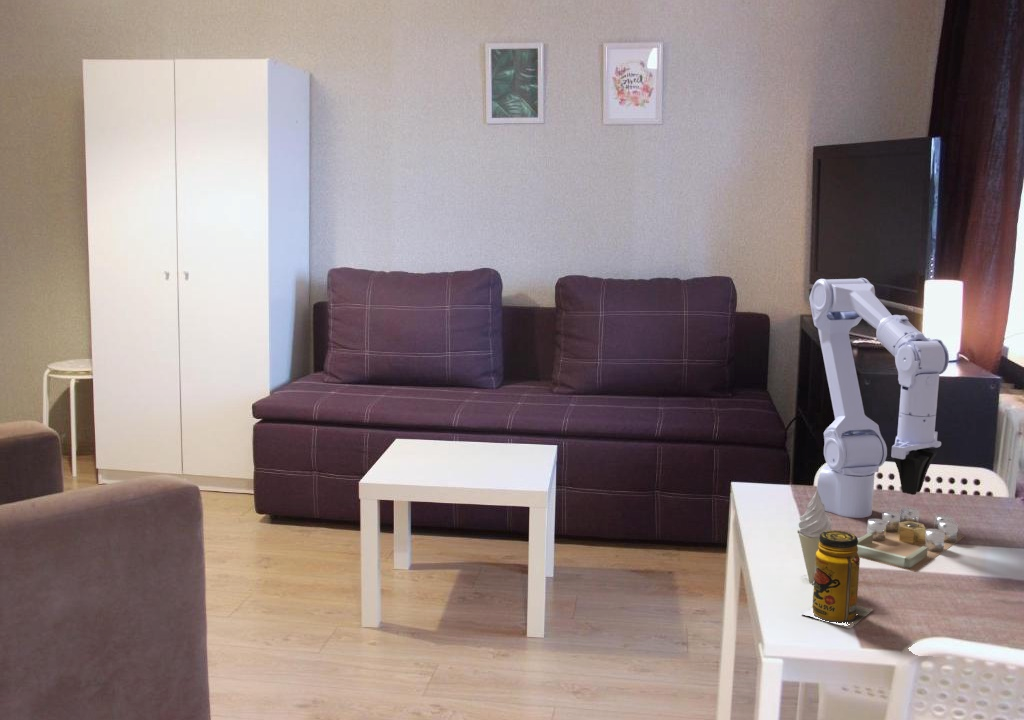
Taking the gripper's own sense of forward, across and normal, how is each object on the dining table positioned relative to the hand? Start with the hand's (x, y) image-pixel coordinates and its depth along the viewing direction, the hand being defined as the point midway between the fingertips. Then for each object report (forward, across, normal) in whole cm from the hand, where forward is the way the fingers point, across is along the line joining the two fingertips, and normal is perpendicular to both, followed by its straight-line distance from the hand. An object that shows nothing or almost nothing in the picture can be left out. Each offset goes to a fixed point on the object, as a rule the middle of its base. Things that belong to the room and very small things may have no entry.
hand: (911, 492), depth 178 cm
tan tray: (+10, -2, 0) cm, 10 cm away
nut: (+9, +2, 0) cm, 9 cm away
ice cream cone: (+10, -25, +5) cm, 27 cm away
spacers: (+9, +3, 0) cm, 9 cm away
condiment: (+10, -33, -3) cm, 35 cm away
